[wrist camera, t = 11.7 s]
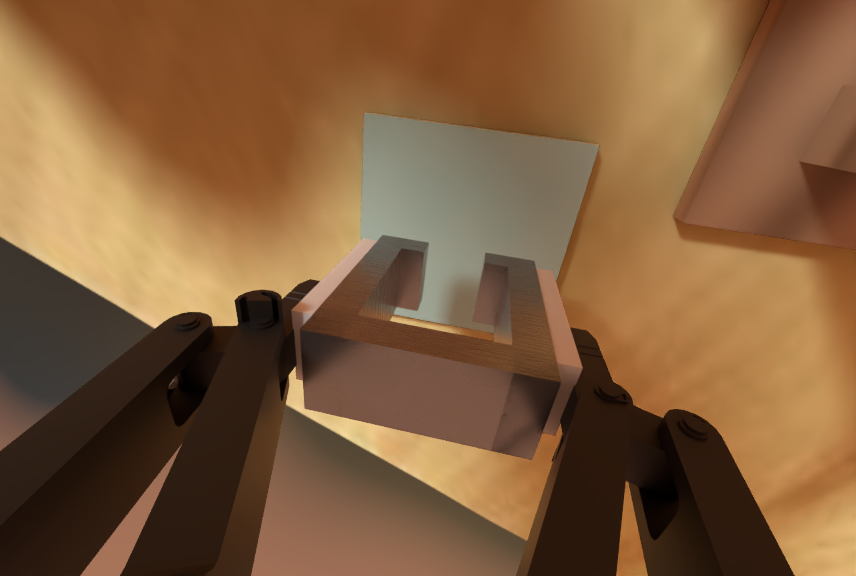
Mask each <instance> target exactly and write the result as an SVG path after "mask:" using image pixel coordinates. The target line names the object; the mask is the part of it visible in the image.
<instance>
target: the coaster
mask: <svg viewBox="0 0 856 576" xmlns="http://www.w3.org/2000/svg"><path fill="white" fill-rule="evenodd" d="M599 146H600V145H598V144H595V143H588V142H581V141H573V140H566V139H559V138H551V137H544V136H537V135H530V134H522V133H515V132H508V131H500V130H493V129H486V128H479V127H471V126H464V125H457V124H449V123H442V122H435V121H428V120H420V119H413V118H406V117H398V116H391V115H384V114H377V113H369V112H368V113H364V127H363V166H362V205H361V240H362V239H363V238H365V239H370V240H376V241H378V240H379V238H380V237H381V236H382V235H387V236H393V237H399V238H405V239H411V240H416V241H422V242H428V243H429V247H428V256H427V264H426V272H425V280H424V288H423V296H422V301H421V303H420V306H419V308H418V311H414V310H409V309H404V308H399V307H397V308H396V310H395V312H394V315H400V316H405V317H410V318H415V319H420V320H426V321H431V322H436V323H441V324H446V325H452V326H457V327H462V328H467V329H473V330H478V331H483V332H488V333H493V334H494V326H492V325H487V324H482V323H477V322H472V320H473V312H474V306H475V301H476V296H477V291H478V286H479V281H480V276H481V272H482V267H483V262H484V257H485V252H486V253H492V254H498V255H504V256H509V257H515V258H521V259H527V260H533V261H535V265H536V268H537V269H543V270H549V271H553V275H554V278H555V281H557V278H558V275H559V272H560V268H561V265H562V262H563V259H564V256H565V253H566V250H567V247H568V243H569V240H570V237H571V234H572V231H573V228H574V225H575V222H576V218H577V215H578V212H579V209H580V206H581V203H582V200H583V196H584V193H585V190H586V187H587V184H588V181H589V178H590V175H591V171H592V168H593V165H594V162H595V159H596V156H597V153H598V150H599Z"/></svg>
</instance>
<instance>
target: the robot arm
mask: <svg viewBox="0 0 856 576" xmlns="http://www.w3.org/2000/svg"><path fill="white" fill-rule="evenodd" d="M376 242H377V241H376V240H370V239H365V238H363V239H362V240H361V241H360V242H359V243H358V244H357V245H356V246H355V247H354V248H353V249H352V250H351V251H350V252H349V253H348V254H347V255H346V256H345V257H344V258H343V259H342V260H341V261H340V262H339V263H338V264H337V265H336V266H335V267H334V268H333V269H332V270H331V271H330V272H329V273H328V274H327V275H326V276H325V277H324V278H323V279H322V280H321V281H316V280H311V279H310V280H307V281H305V282H303V283H300V284H298V285H297V286H296V287H295V288H294V289H293V290H292V291H291V292H290V293H288V294H287V295H286V297H284V298H283V299H282V298H281V296H280V295H279V294H278V293H276V292H274V291H269V290H255V291H250V292H247V293H244V294H242V295H240V296H238V298H237V299H236V300H235V306H236V312H237V318H238V325H237V326H213V324H212V319H211V317H210V316H209V315H207V314H205V313H201V312H187V313H182V314H179V315H176V316H173V317H171V318H169V319H168V320H166V321H164V322H163V323H162V324H161V325H159V326H158V327H157V328H156V329H154V330H153V331H152V332H150V333H149V334H148V335H147V336H146V337H144V338H143V339H142V340H141V341H139V342H138V343H137V344H135V345H134V346H133V347H132V348H130V349H129V350H128V351H127V352H125V353H124V354H123V355H122V356H120V357H119V358H118V359H116V360H115V361H114V362H113V363H111V364H110V365H109V366H107V367H106V368H105V369H104V370H103V371H101V372H100V373H99V374H97V375H96V376H95V377H94V378H92V379H91V380H90V381H88V382H87V383H86V384H85V385H83V386H82V387H81V388H80V389H78V390H77V391H76V392H75V393H73V394H72V395H71V396H70V397H68V398H67V399H66V400H64V401H63V402H62V403H61V404H60V405H58V406H57V407H56V408H54V409H53V410H52V411H50V412H49V413H48V414H47V415H46V416H44V417H43V418H42V419H40V420H39V421H38V422H37V423H36V424H34V425H33V426H32V427H30V428H29V429H28V430H26V431H25V432H24V433H23V434H21V435H20V436H19V437H18V438H16V439H15V440H14V441H12V442H11V443H10V444H9V445H7V446H6V447H5V448H4V449H2V450H1V451H0V576H80V575H81V574H82V572H83V571H84V570H85V568H86V567H87V566H88V565H89V563H90V562H91V561H92V559H93V558H94V557H95V556H96V554H97V553H98V552H99V550H100V549H101V548H102V546H103V545H104V544H105V543H106V541H107V540H108V539H109V537H110V536H111V535H112V533H113V532H114V531H115V530H116V528H117V527H118V526H119V524H120V523H121V522H122V521H123V519H124V518H125V517H126V515H127V514H128V513H129V511H130V510H131V509H132V508H133V506H134V505H135V504H136V502H137V501H138V500H139V498H140V497H141V496H142V494H143V493H144V492H145V491H146V489H147V488H148V487H149V486H150V484H151V483H152V481H153V480H154V479H155V478H156V476H157V475H158V474H159V473H160V471H161V470H162V469H163V467H164V466H165V465H166V463H167V462H168V461H169V460H170V458H171V457H172V456H173V454H174V453H175V452H176V450H177V449H178V448H179V446H180V445H181V444H182V446H181V448H180V450H179V452H178V454H177V456H176V458H175V461H174V463H173V465H172V467H171V469H170V471H169V474H168V476H167V478H166V480H165V482H164V484H163V487H162V488H161V491H160V493H159V495H158V497H157V499H156V501H155V504H154V506H153V508H152V510H151V512H150V514H149V517H148V519H147V521H146V523H145V525H144V527H143V529H142V531H141V534H140V536H139V538H138V540H137V542H136V544H135V547H134V549H133V551H132V553H131V555H130V557H129V559H128V562H127V564H126V566H125V568H124V570H123V571H122V573H121V575H120V576H251V573H252V568H253V563H254V558H255V553H256V548H257V543H258V538H259V533H260V528H261V523H262V518H263V513H264V508H265V503H266V498H267V493H268V488H269V483H270V479H271V473H272V469H273V463H274V459H275V454H276V448H277V444H278V439H279V434H280V429H281V424H282V419H283V413H284V409H285V404H286V399H287V394H288V389H289V376H288V375H289V374H290V373H291V371H292V370H293V369H294V367H295V366H296V378H297V379H299V380H303V373H302V358H301V342H300V328H301V327H302V326H303V325H304V324H305V323H306V321H307V320H308V319H309V318H310V317H311V316H312V315H313V313H314V312H315V311H316V310H317V309H318V308H319V307H320V305H321V304H322V303H323V302H324V301H325V300H326V299H327V298H328V296H329V295H330V294H331V293H332V292H333V291H334V290H335V288H336V287H337V286H338V285H339V284H340V283H341V282H342V280H343V279H344V278H345V277H346V276H347V275H348V274H349V273H350V271H351V270H352V269H353V268H354V267H355V266H356V265H357V263H358V262H359V261H360V260H361V259H362V258H363V257H364V255H365V254H366V253H367V252H368V251H369V250H370V249H371V248H372V246H373V245H374V244H375V243H376ZM536 270H537V274H538V279H539V283H540V288H541V292H542V297H543V301H544V306H545V310H546V315H547V319H548V324H549V328H550V333H551V337H552V342H553V346H554V351H555V355H556V360H557V364H558V369H559V373H560V378H561V382H562V383H561V385H560V388H559V390H558V393H557V396H556V398H555V401H554V404H553V406H552V409H551V411H550V414H549V417H548V419H547V422H546V424H545V427H544V430H543V432H542V433H546V434H551V435H556V432H557V430H558V428H559V425H560V423H561V428H562V433H563V435H562V437H561V440H560V442H559V444H558V447H557V449H556V451H555V454H554V456H553V459H552V462H553V463H552V466H551V469H550V472H549V475H548V479H547V482H546V485H545V488H544V491H543V494H542V497H541V500H540V504H539V507H538V510H537V513H536V516H535V519H534V522H533V525H532V528H531V532H530V535H529V538H528V541H527V544H526V548H525V550H524V554H523V557H522V560H521V563H520V566H519V569H518V572H517V576H616V571H617V561H618V551H619V541H620V531H621V521H622V511H623V502H624V492H625V482H626V481H628V482H629V487H630V492H631V497H632V501H633V506H634V511H635V516H636V521H637V525H638V530H639V535H640V540H641V544H642V549H643V554H644V559H645V563H646V568H647V573H648V576H795V575H794V574H793V572H792V570H791V568H790V566H789V564H788V562H787V560H786V558H785V556H784V554H783V553H782V551H781V549H780V547H779V545H778V543H777V541H776V539H775V537H774V535H773V533H772V532H771V530H770V528H769V526H768V524H767V522H766V520H765V518H764V516H763V514H762V512H761V511H760V509H759V507H758V505H757V503H756V501H755V499H754V497H753V495H752V493H751V492H750V490H749V488H748V486H747V484H746V482H745V480H744V478H743V476H742V474H741V472H740V471H739V469H738V467H737V465H736V463H735V461H734V459H733V457H732V455H731V453H730V451H729V450H728V448H727V446H726V444H725V442H724V440H723V438H722V436H721V435H720V434H719V432H718V431H717V430H716V428H714V427H713V426H712V425H711V424H710V423H709V422H707V421H706V420H705V419H703V418H701V417H700V416H698V415H696V414H693V413H691V412H688V411H685V410H679V409H673V410H669V411H668V412H667V413H666V414H665V416H664V418H661V417H659V416H656V415H654V414H652V413H649V412H647V411H644V410H642V409H640V408H638V407H636V406H634V405H633V401H632V398H631V396H630V395H629V393H628V392H627V391H626V390H625V389H623V388H622V387H621V386H620V385H618V384H616V383H614V382H613V380H612V378H611V376H610V373H609V371H608V368H607V366H606V363H605V361H604V359H603V356H602V353H601V351H600V348H599V346H598V343H597V341H596V339H595V338H594V337H593V336H592V335H591V334H590V333H589V332H588V331H586V330H581V329H575V328H570V326H569V323H568V319H567V316H566V313H565V310H564V307H563V303H562V300H561V297H560V294H559V291H558V287H557V284H556V281H555V278H554V275H553V271H549V270H543V269H537V268H536ZM173 379H174V380H175V381H174V382H173V383H172V384H171V385H170V386H169V384H170V383H171V381H172V380H173Z"/></svg>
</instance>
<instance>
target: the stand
mask: <svg viewBox="0 0 856 576" xmlns="http://www.w3.org/2000/svg"><path fill="white" fill-rule="evenodd" d="M673 217H675V218H676V219H678V220H679V221H681V222H682V223H686V224H692V225H699V226H705V227H712V228H718V229H725V230H731V231H738V232H744V233H751V234H757V235H764V236H770V237H777V238H783V239H789V240H796V241H802V242H809V243H815V244H822V245H828V246H835V247H841V248H848V249H854V250H856V0H770V2H769V4H768V6H767V9H766V11H765V13H764V15H763V17H762V20H761V22H760V24H759V26H758V29H757V31H756V33H755V35H754V37H753V40H752V42H751V44H750V46H749V49H748V51H747V53H746V55H745V57H744V60H743V62H742V64H741V66H740V69H739V71H738V73H737V75H736V77H735V80H734V82H733V84H732V86H731V89H730V91H729V93H728V95H727V97H726V100H725V102H724V104H723V106H722V109H721V111H720V113H719V115H718V117H717V120H716V122H715V124H714V126H713V129H712V131H711V133H710V135H709V137H708V140H707V142H706V144H705V146H704V149H703V151H702V153H701V155H700V157H699V160H698V162H697V164H696V166H695V169H694V171H693V173H692V175H691V177H690V180H689V182H688V184H687V186H686V189H685V191H684V193H683V195H682V197H681V200H680V202H679V204H678V206H677V209H676V211H675V213H674V215H673Z"/></svg>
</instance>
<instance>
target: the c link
mask: <svg viewBox="0 0 856 576" xmlns="http://www.w3.org/2000/svg"><path fill="white" fill-rule="evenodd" d="M428 247H429V243H428V242H422V241H416V240H411V239H405V238H399V237H393V236H387V235H382V236H381V237H380V238H379V240H378V241H377V242H376V243H375V244H374V245H373V246H372V248H371V249H370V250H369V251H368V252H367V253H366V254H365V255H364V257H363V258H362V259H361V260H360V261H359V262H358V263H357V265H356V266H355V267H354V268H353V269H352V270H351V271H350V273H349V274H348V275H347V276H346V277H345V278H344V279H343V280H342V282H341V283H340V284H339V285H338V286H337V287H336V288H335V290H334V291H333V292H332V293H331V294H330V295H329V296H328V298H327V299H326V300H325V301H324V302H323V303H322V304H321V305H320V307H319V308H318V309H317V310H316V311H315V312H314V313H313V315H312V316H311V317H310V318H309V319H308V320H307V321H306V323H305V324H304V325H303V326H302V327H301V328H300V342H301V358H302V373H303V389H304V404H305V409H309V410H313V411H318V412H322V413H327V414H331V415H335V416H340V417H344V418H349V419H353V420H357V421H362V422H366V423H371V424H375V425H380V426H384V427H388V428H393V429H397V430H402V431H406V432H410V433H415V434H419V435H424V436H428V437H432V438H437V439H441V440H446V441H450V442H455V443H459V444H463V445H468V446H472V447H477V448H481V449H485V450H490V451H494V452H499V453H503V454H507V455H512V456H516V457H521V458H525V459H530V460H532V459H533V456H534V453H535V451H536V448H537V445H538V443H539V440H540V438H541V435H542V432H543V430H544V427H545V424H546V422H547V419H548V417H549V414H550V411H551V409H552V406H553V404H554V401H555V398H556V396H557V393H558V390H559V388H560V385H561V383H562V382H561V378H560V373H559V369H558V364H557V360H556V355H555V351H554V346H553V342H552V337H551V333H550V328H549V324H548V319H547V315H546V310H545V306H544V301H543V297H542V292H541V288H540V283H539V279H538V274H537V270H536V265H535V261H533V260H527V259H521V258H515V257H509V256H504V255H498V254H492V253H486V252H485V257H484V262H483V267H482V272H481V276H480V281H479V286H478V291H477V296H476V301H475V306H474V312H473V320H472V322H477V323H482V324H487V325H492V326H494V342H493V341H488V340H483V339H478V338H473V337H468V336H463V335H458V334H453V333H448V332H443V331H437V330H432V329H427V328H422V327H417V326H412V325H407V324H402V323H397V322H392V321H390V320H391V318H392V316H393V314H394V312H395V310H396V308H397V307H399V308H404V309H409V310H414V311H418V308H419V306H420V303H421V301H422V296H423V288H424V280H425V272H426V264H427V256H428Z"/></svg>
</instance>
